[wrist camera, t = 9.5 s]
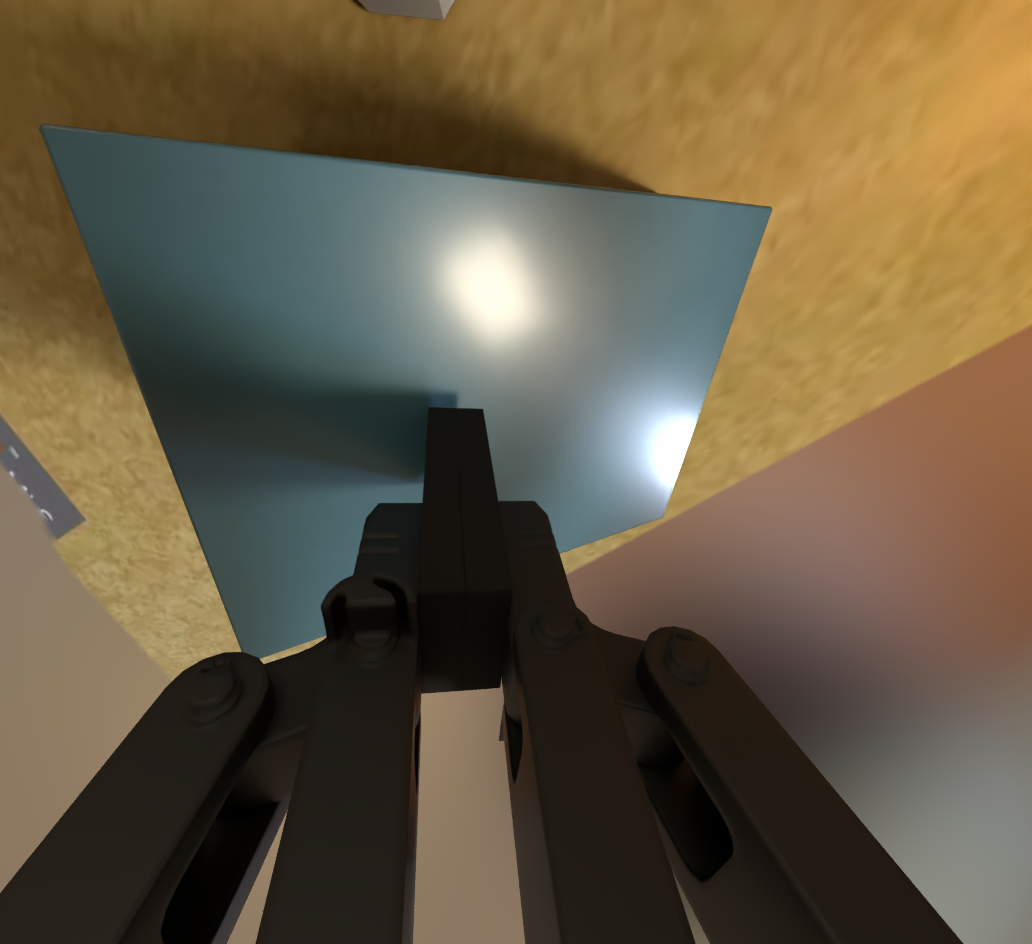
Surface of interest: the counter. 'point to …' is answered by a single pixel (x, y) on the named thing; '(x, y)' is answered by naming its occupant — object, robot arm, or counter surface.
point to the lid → (395, 342)
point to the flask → (410, 7)
